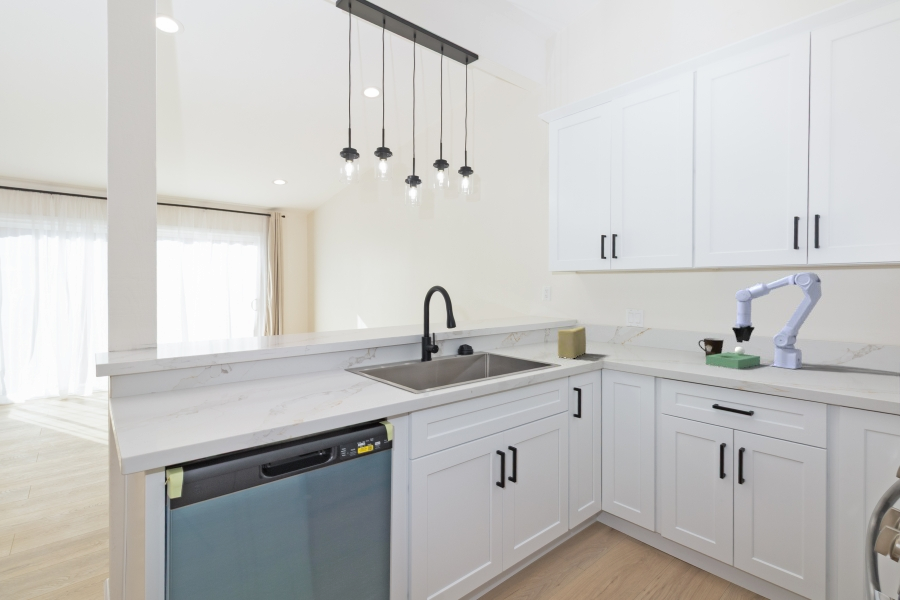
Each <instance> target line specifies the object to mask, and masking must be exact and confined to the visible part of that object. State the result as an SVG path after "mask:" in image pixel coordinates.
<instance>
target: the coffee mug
mask: <svg viewBox="0 0 900 600" xmlns="http://www.w3.org/2000/svg"><path fill="white" fill-rule="evenodd" d="M701 342H703V343H704V348H703V346H702V345H701V344H700V343H701ZM697 343H698V346H699V347H700V349H701V350H703V351H704V353H705V357H706V356H708V355H715V354H721V353H723V346H724V339H723V338H715V337H704V338H703V339H701V340H699V341H698V342H697Z"/></svg>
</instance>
